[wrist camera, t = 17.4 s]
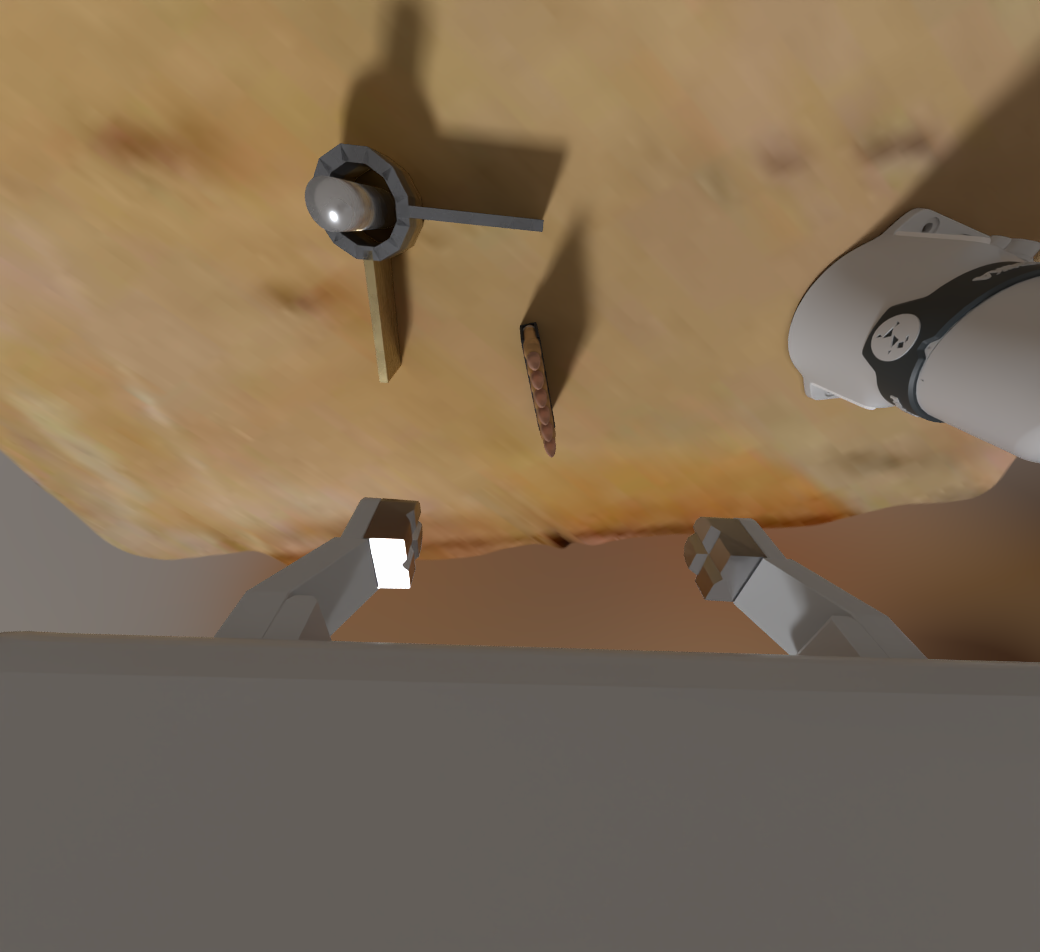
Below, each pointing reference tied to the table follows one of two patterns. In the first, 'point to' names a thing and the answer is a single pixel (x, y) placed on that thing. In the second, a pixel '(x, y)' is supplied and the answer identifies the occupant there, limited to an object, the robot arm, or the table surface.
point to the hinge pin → (349, 205)
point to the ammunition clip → (539, 385)
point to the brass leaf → (384, 291)
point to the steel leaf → (399, 204)
